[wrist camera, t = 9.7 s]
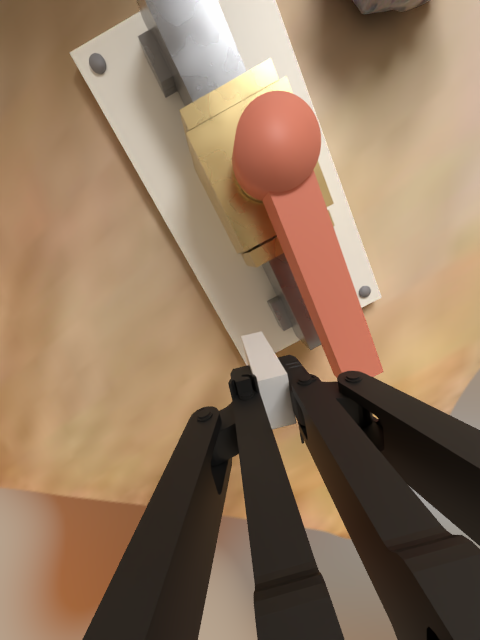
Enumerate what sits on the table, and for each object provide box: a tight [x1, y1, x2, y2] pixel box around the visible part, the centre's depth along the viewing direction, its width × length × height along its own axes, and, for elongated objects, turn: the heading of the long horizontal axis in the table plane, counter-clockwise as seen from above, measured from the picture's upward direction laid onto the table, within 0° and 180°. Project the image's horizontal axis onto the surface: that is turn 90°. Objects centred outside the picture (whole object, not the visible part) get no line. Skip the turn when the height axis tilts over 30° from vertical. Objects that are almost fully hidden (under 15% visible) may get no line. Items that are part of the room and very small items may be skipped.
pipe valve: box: [137, 0, 335, 350], centre depth 19 cm, size 28×7×9 cm, turn 28°
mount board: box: [70, 0, 381, 366], centre depth 23 cm, size 30×16×1 cm, turn 28°
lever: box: [232, 91, 383, 377], centre depth 15 cm, size 17×4×2 cm, turn 26°
